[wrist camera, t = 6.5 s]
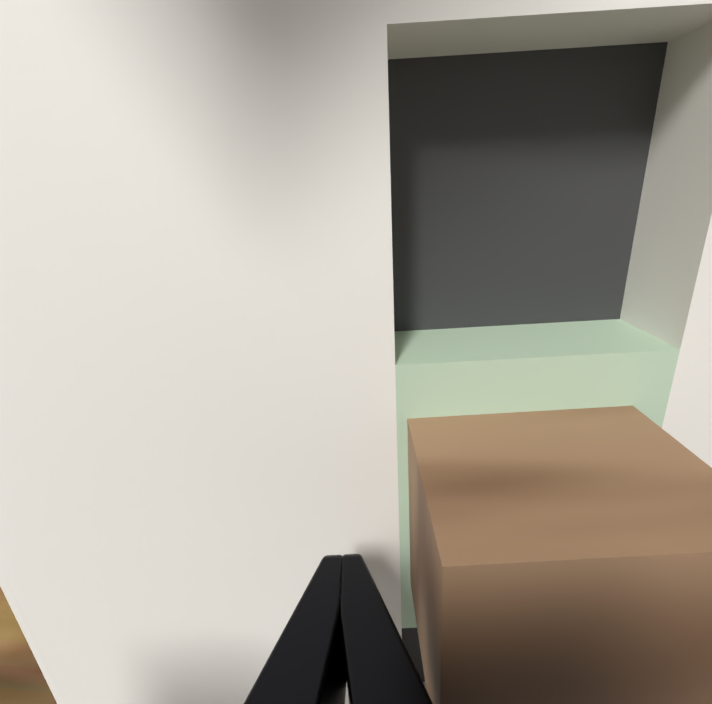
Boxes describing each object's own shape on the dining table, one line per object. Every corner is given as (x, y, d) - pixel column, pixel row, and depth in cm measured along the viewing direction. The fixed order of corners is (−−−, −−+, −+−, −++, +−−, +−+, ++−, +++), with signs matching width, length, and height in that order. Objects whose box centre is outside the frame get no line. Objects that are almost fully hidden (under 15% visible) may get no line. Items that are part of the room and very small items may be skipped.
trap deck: (588, 690, 17) (625, 770, 15) (134, 711, 17) (101, 794, 15) (747, -48, 9) (893, -132, 6) (-136, 9, 9) (-309, -52, 7)
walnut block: (600, 573, 11) (720, 762, 8) (410, 583, 11) (438, 775, 8) (632, 405, 10) (812, 546, 6) (407, 418, 10) (442, 566, 6)
